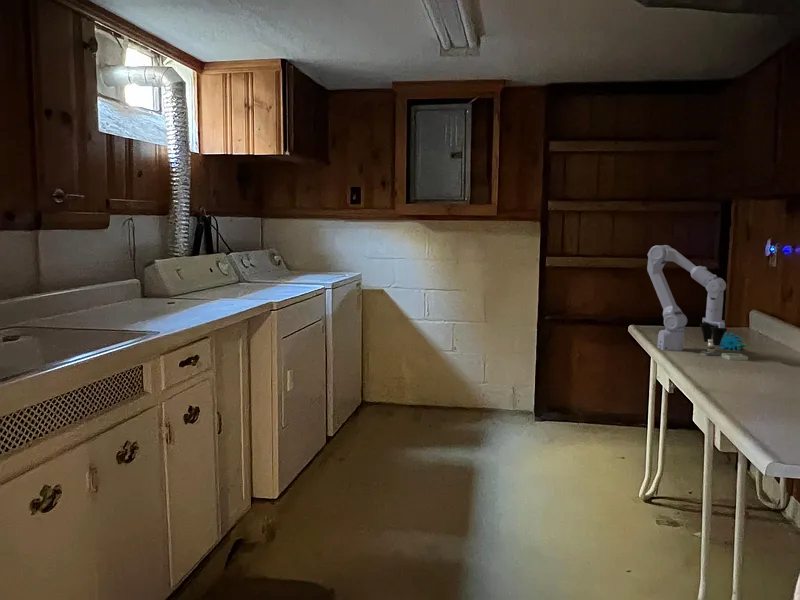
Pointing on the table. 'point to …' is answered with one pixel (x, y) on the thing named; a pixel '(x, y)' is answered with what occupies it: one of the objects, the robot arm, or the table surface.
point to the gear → (731, 342)
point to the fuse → (710, 346)
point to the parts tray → (734, 356)
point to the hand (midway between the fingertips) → (711, 343)
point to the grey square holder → (710, 353)
